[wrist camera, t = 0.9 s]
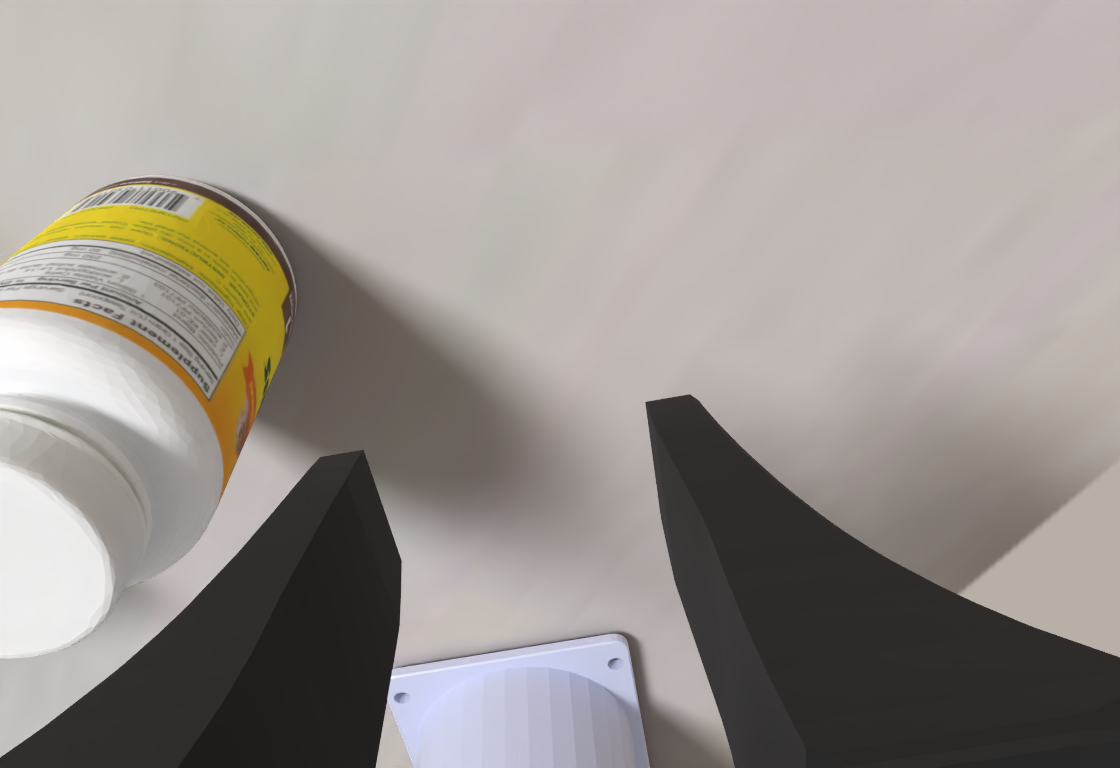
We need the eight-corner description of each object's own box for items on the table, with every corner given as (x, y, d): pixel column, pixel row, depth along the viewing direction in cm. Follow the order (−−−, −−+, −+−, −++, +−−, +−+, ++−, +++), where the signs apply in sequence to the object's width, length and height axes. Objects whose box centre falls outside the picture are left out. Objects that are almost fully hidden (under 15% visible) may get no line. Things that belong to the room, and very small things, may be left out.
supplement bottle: (201, 414, 23) (22, 745, 15) (16, 264, 21) (-330, 553, 12) (352, 291, 22) (253, 579, 13) (170, 114, 20) (-100, 322, 11)
